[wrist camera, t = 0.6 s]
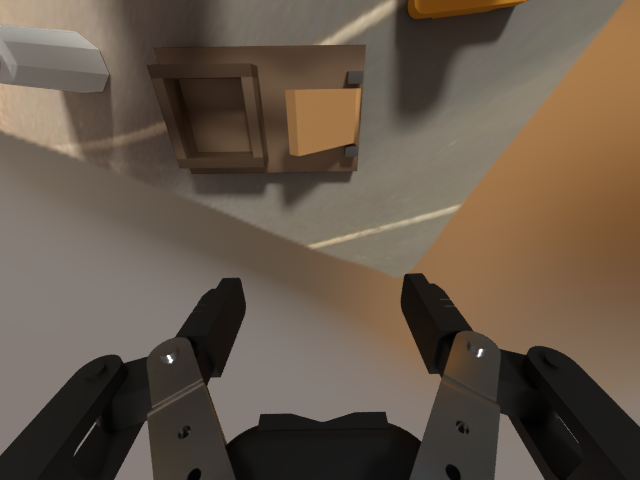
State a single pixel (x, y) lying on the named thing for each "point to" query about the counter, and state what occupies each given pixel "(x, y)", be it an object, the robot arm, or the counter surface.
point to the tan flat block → (322, 119)
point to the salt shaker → (50, 60)
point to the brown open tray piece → (249, 104)
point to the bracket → (455, 7)
